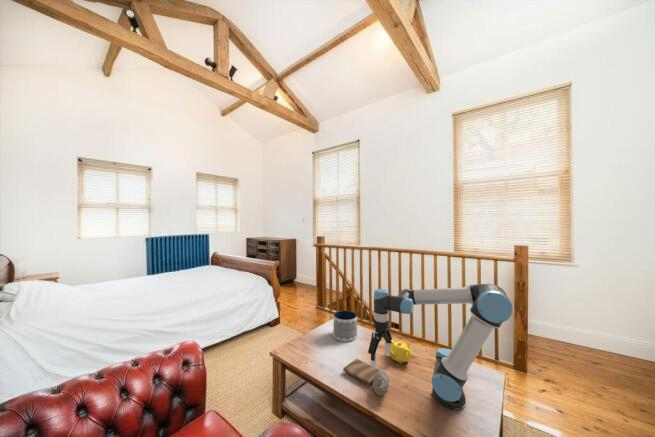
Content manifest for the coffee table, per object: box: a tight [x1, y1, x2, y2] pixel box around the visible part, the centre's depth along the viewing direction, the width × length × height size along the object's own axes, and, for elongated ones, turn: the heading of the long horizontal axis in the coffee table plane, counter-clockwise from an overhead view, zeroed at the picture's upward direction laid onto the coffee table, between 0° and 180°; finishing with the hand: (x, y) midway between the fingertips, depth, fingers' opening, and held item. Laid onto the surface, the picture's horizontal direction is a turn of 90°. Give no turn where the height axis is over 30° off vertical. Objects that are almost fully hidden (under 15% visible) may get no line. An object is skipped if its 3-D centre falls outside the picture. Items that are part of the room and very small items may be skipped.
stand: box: [343, 358, 380, 387], centre depth 138 cm, size 18×13×3 cm
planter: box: [333, 310, 358, 343], centre depth 184 cm, size 18×18×16 cm
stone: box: [372, 369, 390, 396], centre depth 124 cm, size 9×14×10 cm, turn 155°
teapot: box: [389, 339, 413, 365], centre depth 153 cm, size 20×18×11 cm
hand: (380, 360), depth 124 cm, fingers open, 13 cm apart
